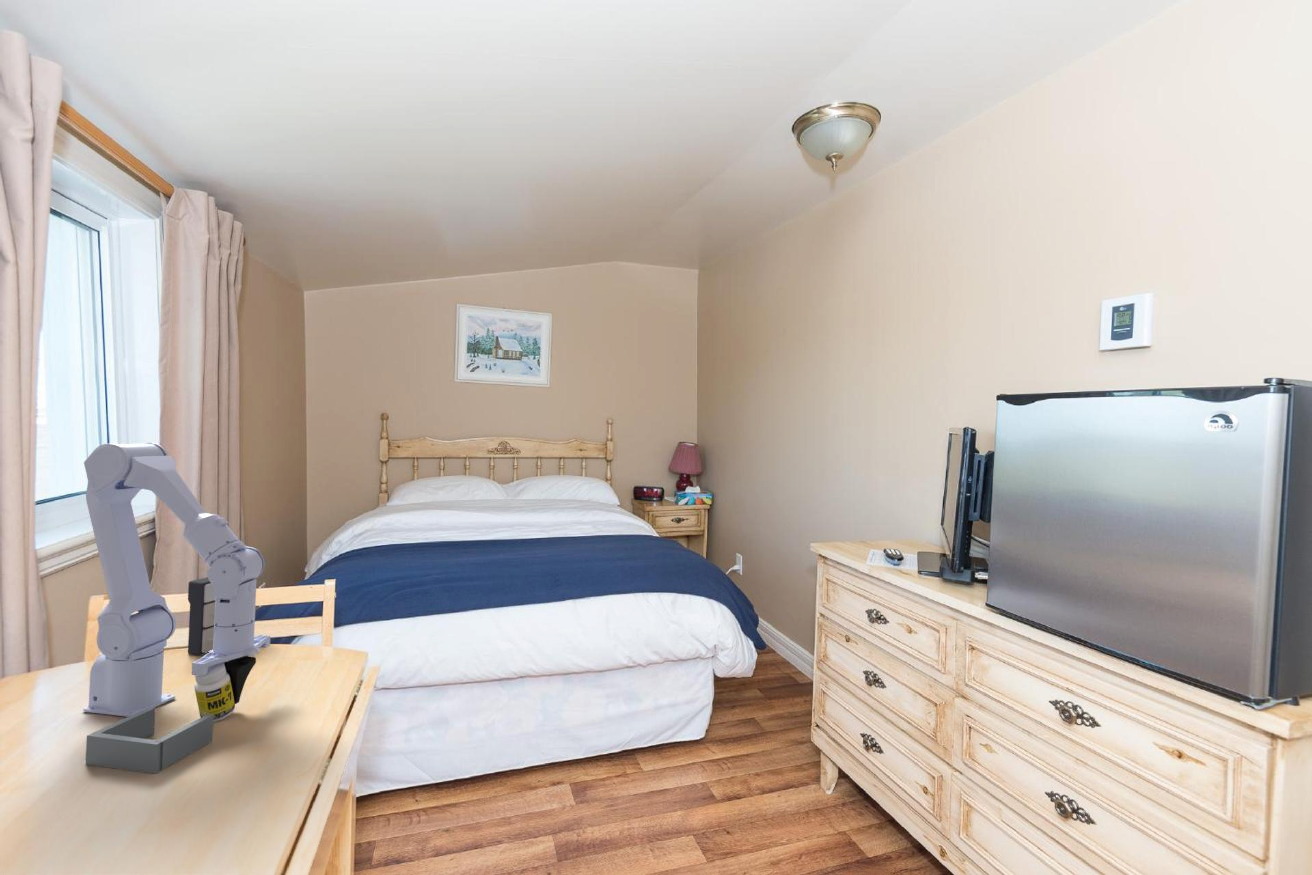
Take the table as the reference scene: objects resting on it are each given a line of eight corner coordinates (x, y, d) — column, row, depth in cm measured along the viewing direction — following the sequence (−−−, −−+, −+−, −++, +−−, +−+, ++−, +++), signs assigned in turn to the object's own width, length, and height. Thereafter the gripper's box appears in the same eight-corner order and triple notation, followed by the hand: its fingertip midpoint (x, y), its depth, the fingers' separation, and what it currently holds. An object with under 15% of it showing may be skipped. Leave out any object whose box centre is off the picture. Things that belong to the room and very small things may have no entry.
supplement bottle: (210, 727, 102) (200, 682, 99) (194, 716, 104) (185, 672, 101) (241, 709, 106) (233, 666, 103) (226, 699, 108) (217, 656, 105)
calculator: (202, 656, 130) (205, 583, 130) (184, 654, 131) (188, 581, 131) (246, 640, 141) (250, 572, 141) (230, 638, 142) (233, 570, 142)
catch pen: (85, 764, 89) (86, 735, 89) (148, 733, 98) (149, 707, 98) (155, 773, 87) (156, 744, 87) (212, 741, 97) (213, 714, 97)
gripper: (221, 637, 99) (218, 724, 99) (286, 612, 114) (283, 688, 114) (181, 633, 100) (177, 719, 100) (250, 609, 115) (247, 684, 115)
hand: (231, 702), depth 107 cm, fingers closed, pressing on supplement bottle
